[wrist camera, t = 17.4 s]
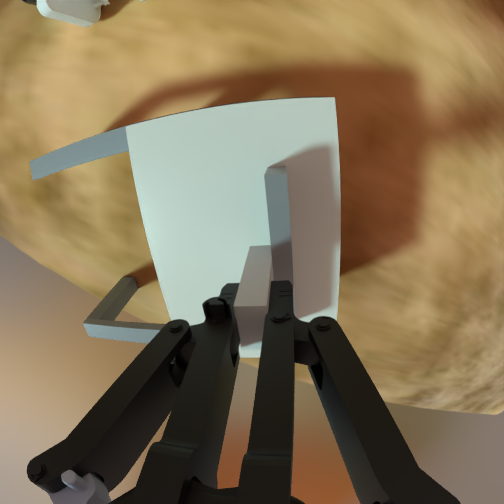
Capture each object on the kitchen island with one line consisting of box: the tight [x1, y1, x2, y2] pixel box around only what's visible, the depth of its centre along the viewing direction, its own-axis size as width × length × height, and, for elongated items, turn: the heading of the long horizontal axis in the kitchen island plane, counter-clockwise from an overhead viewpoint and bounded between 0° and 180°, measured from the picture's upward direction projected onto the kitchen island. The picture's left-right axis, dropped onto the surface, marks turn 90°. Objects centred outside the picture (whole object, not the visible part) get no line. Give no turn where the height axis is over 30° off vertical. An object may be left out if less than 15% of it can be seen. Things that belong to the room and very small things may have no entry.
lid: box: [126, 97, 341, 357], centre depth 19 cm, size 21×14×4 cm
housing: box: [30, 97, 324, 343], centre depth 27 cm, size 21×27×11 cm
